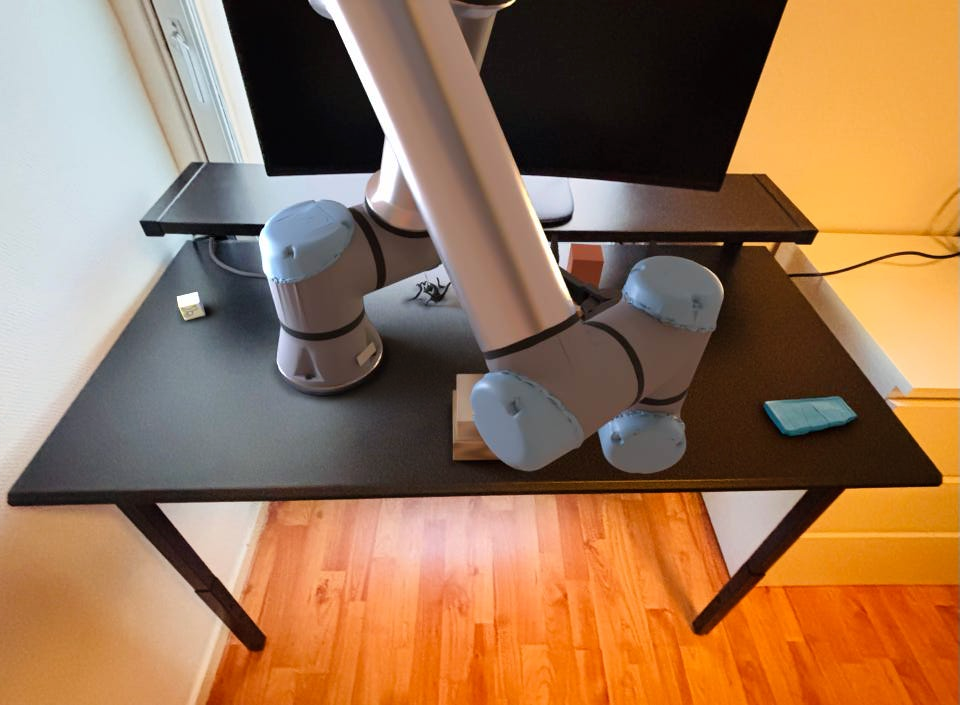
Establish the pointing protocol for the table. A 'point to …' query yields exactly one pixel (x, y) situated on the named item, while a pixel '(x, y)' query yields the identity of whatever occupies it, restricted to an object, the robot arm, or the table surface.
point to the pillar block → (586, 263)
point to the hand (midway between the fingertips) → (601, 246)
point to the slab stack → (467, 423)
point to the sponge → (808, 414)
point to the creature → (436, 295)
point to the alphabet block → (191, 306)
